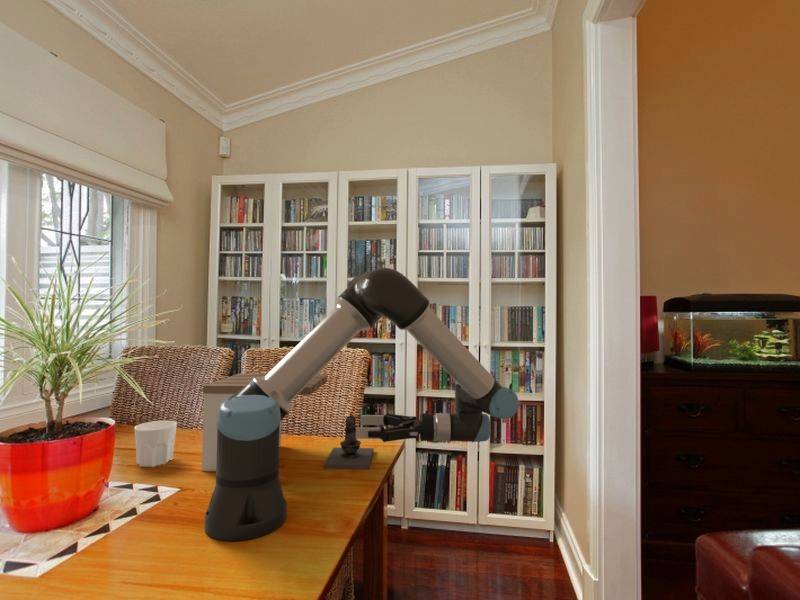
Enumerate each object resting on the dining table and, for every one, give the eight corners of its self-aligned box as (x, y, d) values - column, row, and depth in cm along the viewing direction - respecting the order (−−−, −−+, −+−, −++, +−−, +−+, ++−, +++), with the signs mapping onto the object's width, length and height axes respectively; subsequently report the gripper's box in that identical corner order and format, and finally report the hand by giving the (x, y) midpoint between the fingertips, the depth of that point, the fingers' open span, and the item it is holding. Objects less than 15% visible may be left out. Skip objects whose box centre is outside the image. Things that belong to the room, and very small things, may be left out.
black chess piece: (348, 450, 120) (349, 409, 120) (364, 454, 117) (365, 412, 117) (335, 456, 115) (336, 413, 115) (352, 460, 112) (352, 416, 112)
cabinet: (308, 473, 105) (310, 387, 106) (200, 471, 105) (203, 385, 106) (326, 446, 127) (327, 374, 128) (236, 444, 127) (238, 373, 128)
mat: (368, 469, 108) (369, 465, 108) (323, 468, 109) (323, 464, 109) (373, 451, 122) (373, 448, 122) (333, 450, 123) (333, 447, 123)
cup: (129, 461, 112) (130, 425, 113) (169, 453, 119) (170, 418, 120) (138, 471, 105) (139, 432, 106) (180, 462, 112) (181, 425, 113)
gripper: (437, 455, 103) (352, 454, 103) (431, 428, 128) (363, 427, 128) (437, 425, 103) (353, 424, 104) (431, 404, 128) (363, 403, 129)
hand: (358, 426), depth 116 cm, fingers open, 13 cm apart
